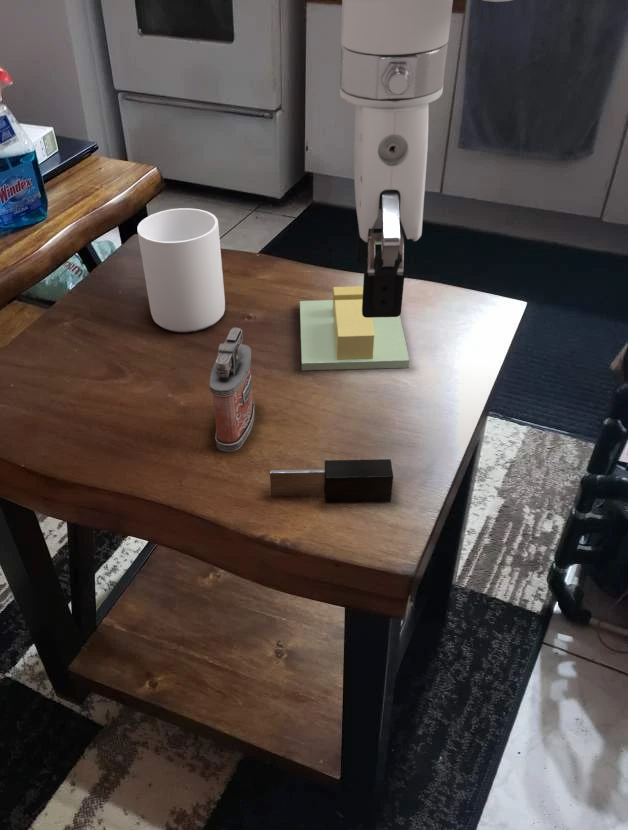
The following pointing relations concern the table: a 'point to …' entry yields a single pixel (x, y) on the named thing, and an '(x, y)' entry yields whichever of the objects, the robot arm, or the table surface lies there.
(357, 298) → the butter pat
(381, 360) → the butter plate
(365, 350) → the butter
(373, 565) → the table surface
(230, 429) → the lighter
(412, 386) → the table surface
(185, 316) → the mug
